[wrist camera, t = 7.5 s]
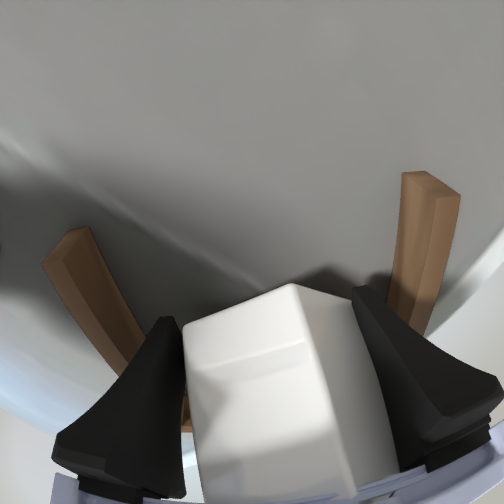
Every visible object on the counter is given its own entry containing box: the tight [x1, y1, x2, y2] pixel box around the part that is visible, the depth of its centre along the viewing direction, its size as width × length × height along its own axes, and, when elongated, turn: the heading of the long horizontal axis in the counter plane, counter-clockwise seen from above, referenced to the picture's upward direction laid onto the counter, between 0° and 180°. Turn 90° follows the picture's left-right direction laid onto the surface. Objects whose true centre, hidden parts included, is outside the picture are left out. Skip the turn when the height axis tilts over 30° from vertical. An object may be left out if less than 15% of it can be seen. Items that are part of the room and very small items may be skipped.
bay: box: [41, 171, 461, 432], centre depth 13 cm, size 15×15×2 cm
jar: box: [182, 283, 401, 504], centre depth 9 cm, size 9×8×12 cm
